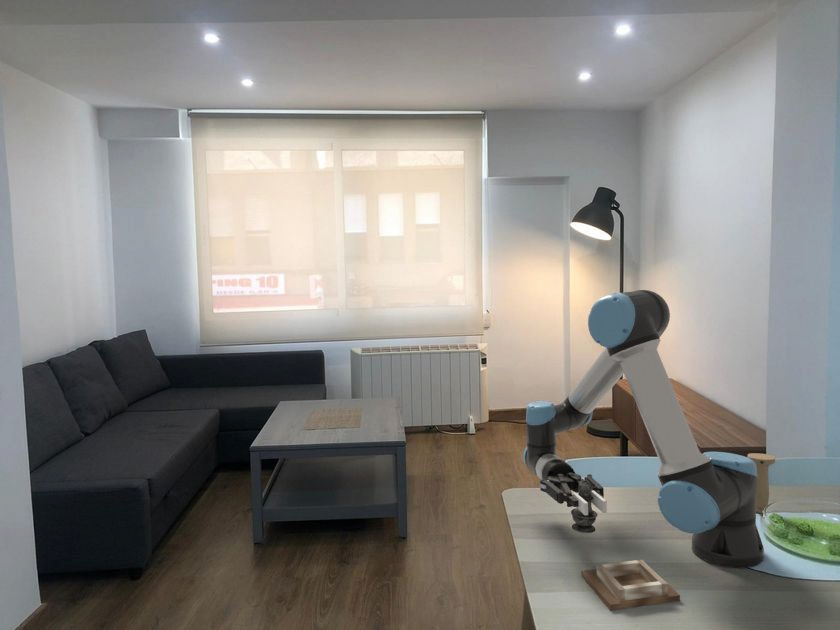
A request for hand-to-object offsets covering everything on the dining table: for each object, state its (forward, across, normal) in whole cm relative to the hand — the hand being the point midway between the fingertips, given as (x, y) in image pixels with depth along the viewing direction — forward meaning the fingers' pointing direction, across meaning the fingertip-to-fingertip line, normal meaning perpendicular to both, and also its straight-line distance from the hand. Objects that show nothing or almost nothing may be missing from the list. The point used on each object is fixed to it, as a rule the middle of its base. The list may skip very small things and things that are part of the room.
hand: (595, 507), depth 144 cm
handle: (-20, -55, -16) cm, 61 cm away
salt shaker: (-6, 0, -7) cm, 9 cm away
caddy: (+7, -4, -15) cm, 17 cm away
